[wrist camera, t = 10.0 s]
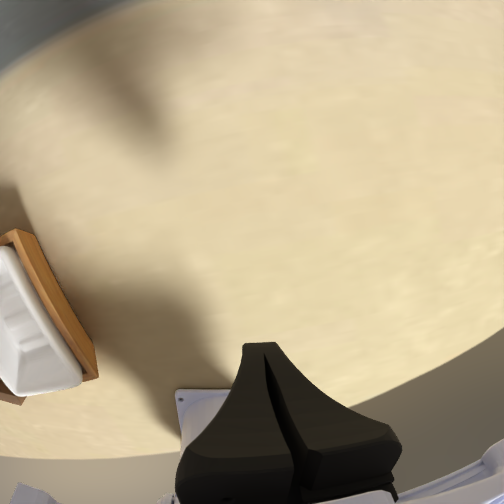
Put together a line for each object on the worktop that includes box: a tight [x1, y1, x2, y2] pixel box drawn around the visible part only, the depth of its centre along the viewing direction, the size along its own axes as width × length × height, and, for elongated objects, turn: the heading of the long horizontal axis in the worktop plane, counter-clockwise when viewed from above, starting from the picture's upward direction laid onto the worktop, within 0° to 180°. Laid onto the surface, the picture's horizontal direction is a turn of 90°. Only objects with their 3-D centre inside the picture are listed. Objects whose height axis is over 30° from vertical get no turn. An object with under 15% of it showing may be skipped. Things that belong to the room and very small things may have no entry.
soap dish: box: [0, 228, 99, 397], centre depth 20 cm, size 12×10×5 cm
